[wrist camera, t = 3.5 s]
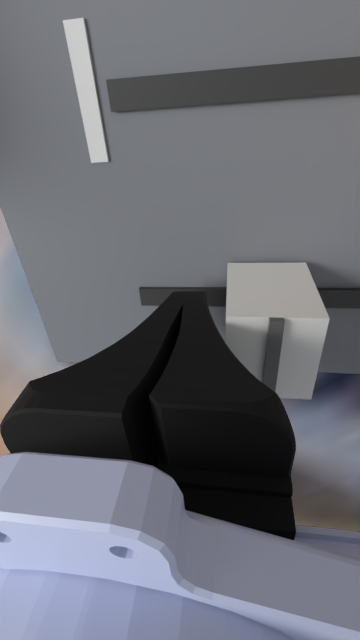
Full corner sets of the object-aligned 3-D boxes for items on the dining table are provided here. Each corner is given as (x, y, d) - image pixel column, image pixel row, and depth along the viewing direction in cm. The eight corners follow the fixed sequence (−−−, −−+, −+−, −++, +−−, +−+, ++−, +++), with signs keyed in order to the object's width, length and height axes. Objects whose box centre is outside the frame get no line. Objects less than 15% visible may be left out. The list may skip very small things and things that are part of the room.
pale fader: (294, 333, 14) (312, 404, 11) (226, 331, 14) (224, 399, 11) (305, 262, 12) (331, 322, 9) (227, 263, 12) (225, 320, 9)
